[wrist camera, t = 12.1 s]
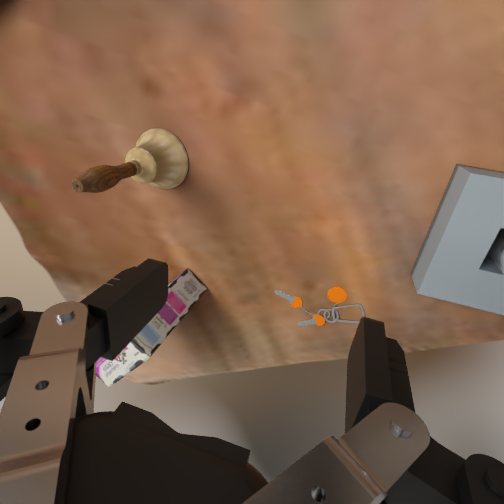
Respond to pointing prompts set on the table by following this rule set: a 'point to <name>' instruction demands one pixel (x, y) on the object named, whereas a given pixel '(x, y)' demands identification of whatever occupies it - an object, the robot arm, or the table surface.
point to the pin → (498, 250)
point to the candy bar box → (153, 329)
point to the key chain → (335, 296)
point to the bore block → (464, 242)
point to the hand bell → (142, 165)
